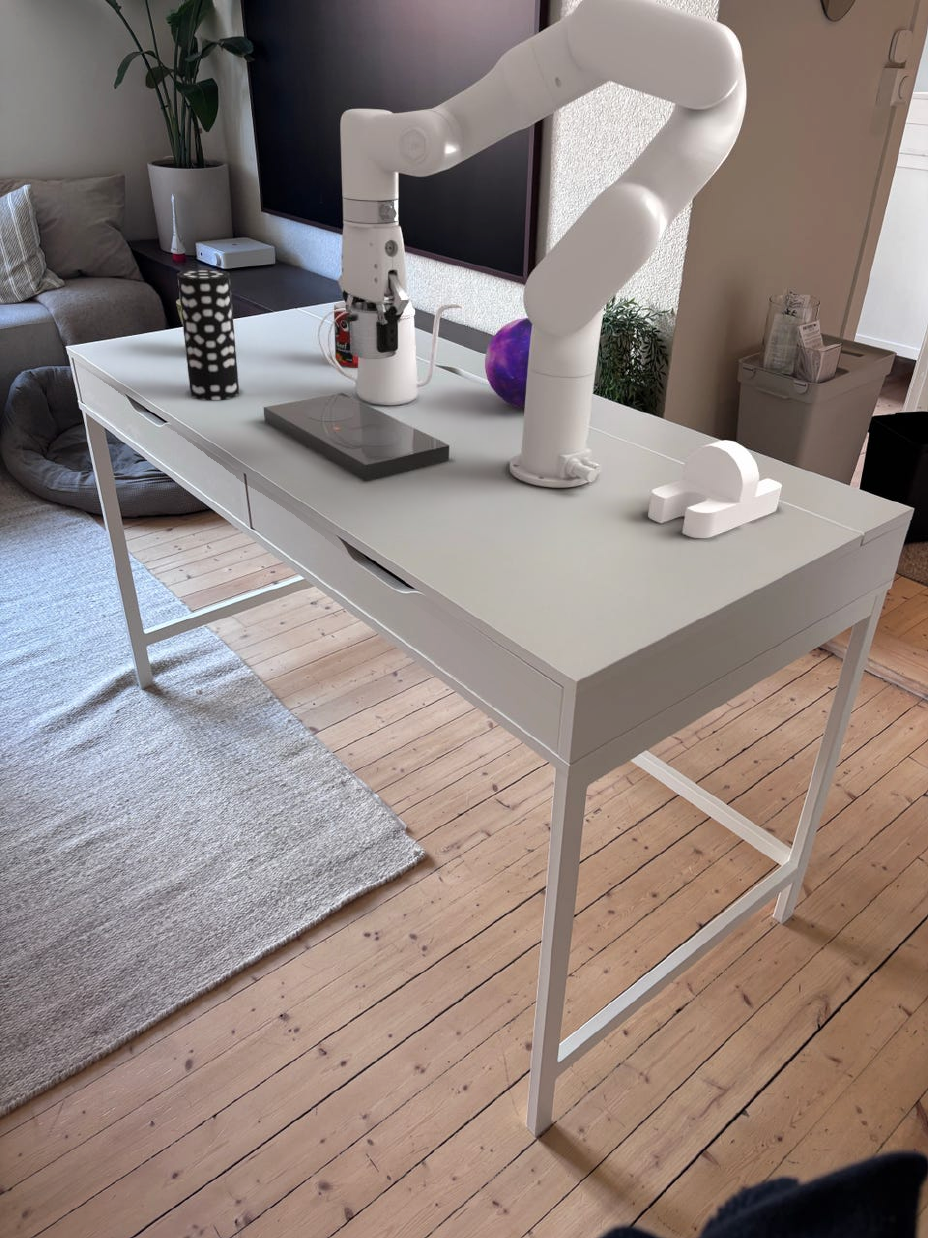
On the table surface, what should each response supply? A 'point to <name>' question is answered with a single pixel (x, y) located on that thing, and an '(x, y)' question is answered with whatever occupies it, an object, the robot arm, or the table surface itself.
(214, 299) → the white-spotted black cylinder
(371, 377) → the coffeepot
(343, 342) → the canned food
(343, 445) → the hot plate
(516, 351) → the decorative orb
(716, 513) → the slotted bracket
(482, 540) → the table surface
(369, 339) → the pot
